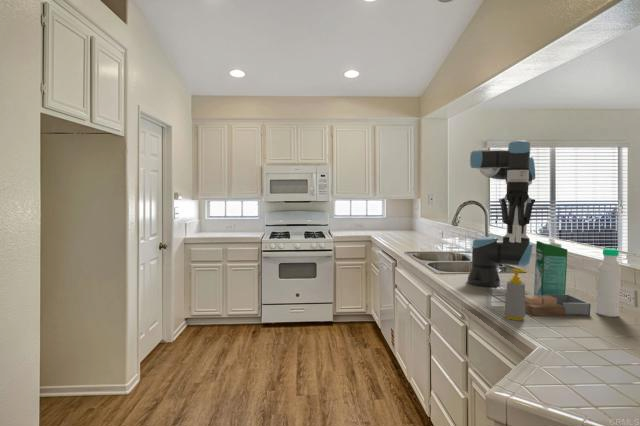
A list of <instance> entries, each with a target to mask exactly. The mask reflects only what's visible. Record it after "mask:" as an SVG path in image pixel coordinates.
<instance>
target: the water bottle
mask: <svg viewBox="0 0 640 426" xmlns="http://www.w3.org/2000/svg"><path fill="white" fill-rule="evenodd" d="M619 253H620V252H619V250H618V249H616V248H615V249H614V248H604V249H602V255H603V259H602V260H601V261H600V263H599V264H598V267H597V270H598V273H597V282H596V283H597V284H596V287H597V288H596V289H597V291H596V292H597V295H596V305H595V313H596V314H598V315H600V316H602V317H603V316H604V317H609V318H616V317H619V315H620V303H621V302H620V294H621V286H622V285H621V282H622V276H621V272H622V267H621V265H620V262H619V260H618V259H617V258H618V257H619Z"/></svg>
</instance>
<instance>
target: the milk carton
mask: <svg viewBox="0 0 640 426" xmlns="http://www.w3.org/2000/svg"><path fill="white" fill-rule="evenodd" d="M562 246H563V245H562V244H560V243H558V242H557V243H556V242H553V241H551V243H547V242H543V241H540V240H536V246H535V264H534V265H535V268H534V269H535V270H534V284H533V286H534V287H533V288H534V289H533V295H536V296H537V295H544V294H566V286H567V285H566V284H567V267H568V265H567V264H568V249H567V248H564V247H562Z"/></svg>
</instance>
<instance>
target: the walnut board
mask: <svg viewBox="0 0 640 426" xmlns="http://www.w3.org/2000/svg"><path fill="white" fill-rule="evenodd" d="M526 312H527V313H528V314H529V315H531V316H551V317H552V316H554V317H556V316H557V317H560V316H561V317H564V316H566V315H565V308H564V307H562V306H560V305H558V304H543V303H542V304H529V303H527V302H525V313H526Z"/></svg>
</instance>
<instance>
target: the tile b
mask: <svg viewBox="0 0 640 426" xmlns="http://www.w3.org/2000/svg"><path fill="white" fill-rule="evenodd" d="M537 296H538V297H540V298H542V303H543V304H557V299H556V298H554V297H552V296H550V295H537Z"/></svg>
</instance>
